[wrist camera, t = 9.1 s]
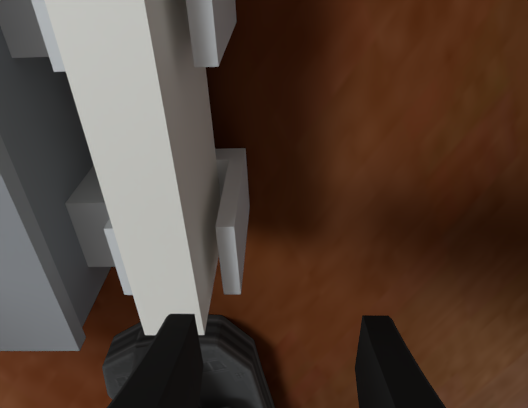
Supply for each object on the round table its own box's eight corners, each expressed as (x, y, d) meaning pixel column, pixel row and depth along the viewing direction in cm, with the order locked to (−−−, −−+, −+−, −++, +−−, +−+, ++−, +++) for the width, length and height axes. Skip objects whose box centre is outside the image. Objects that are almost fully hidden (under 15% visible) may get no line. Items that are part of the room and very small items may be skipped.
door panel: (117, -102, 12) (10, -114, 7) (185, -105, 12) (122, -121, 7) (180, 226, 19) (144, 335, 14) (223, 225, 19) (204, 335, 14)
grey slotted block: (224, -150, 12) (182, -201, 7) (251, 235, 21) (241, 350, 15) (-142, -129, 13) (-448, -163, 8) (25, 238, 21) (-64, 350, 16)
